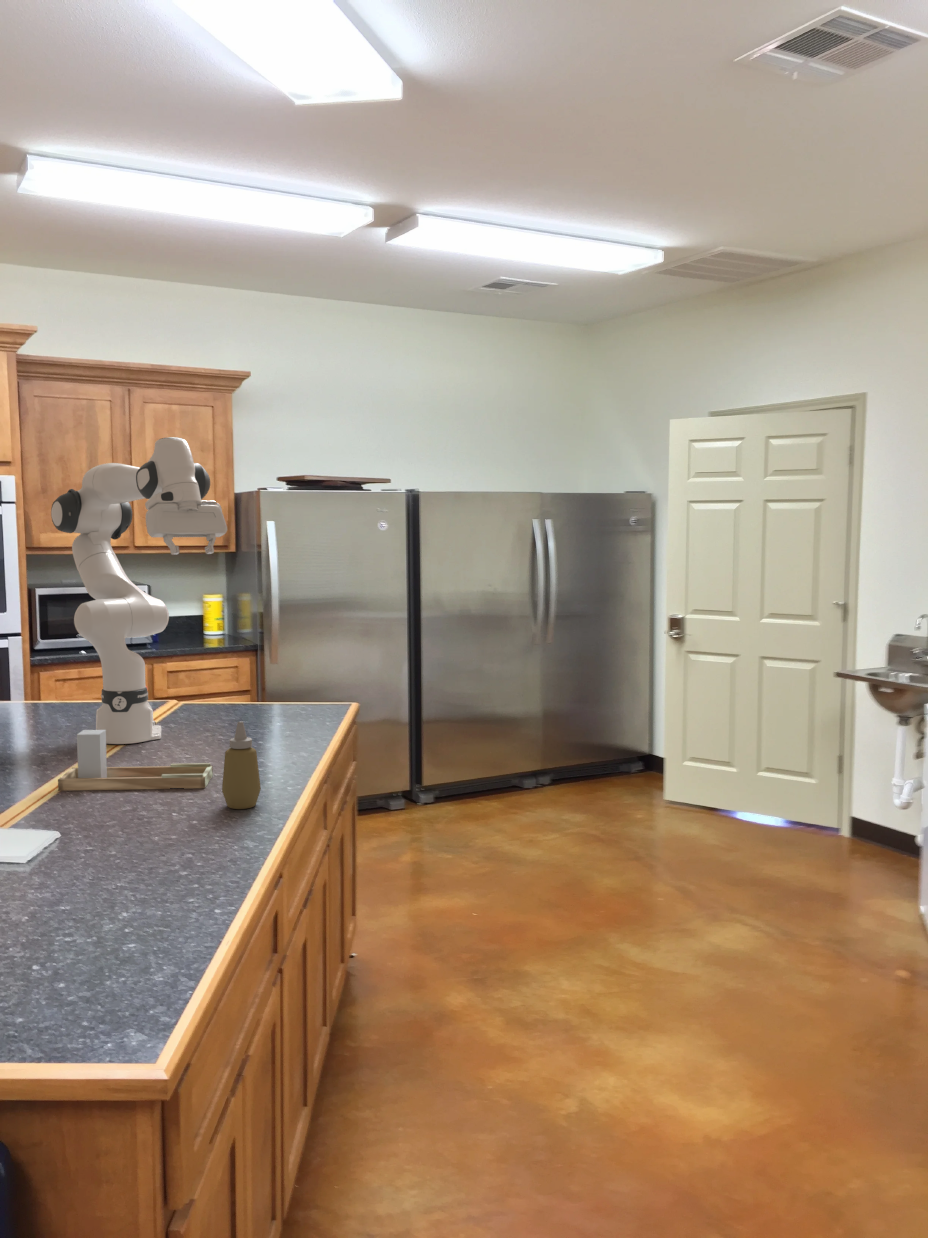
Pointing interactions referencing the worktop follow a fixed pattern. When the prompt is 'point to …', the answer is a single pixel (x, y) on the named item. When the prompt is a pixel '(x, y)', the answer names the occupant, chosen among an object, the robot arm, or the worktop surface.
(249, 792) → the squeeze bottle
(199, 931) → the worktop surface
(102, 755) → the blue-grey block
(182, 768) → the channel
